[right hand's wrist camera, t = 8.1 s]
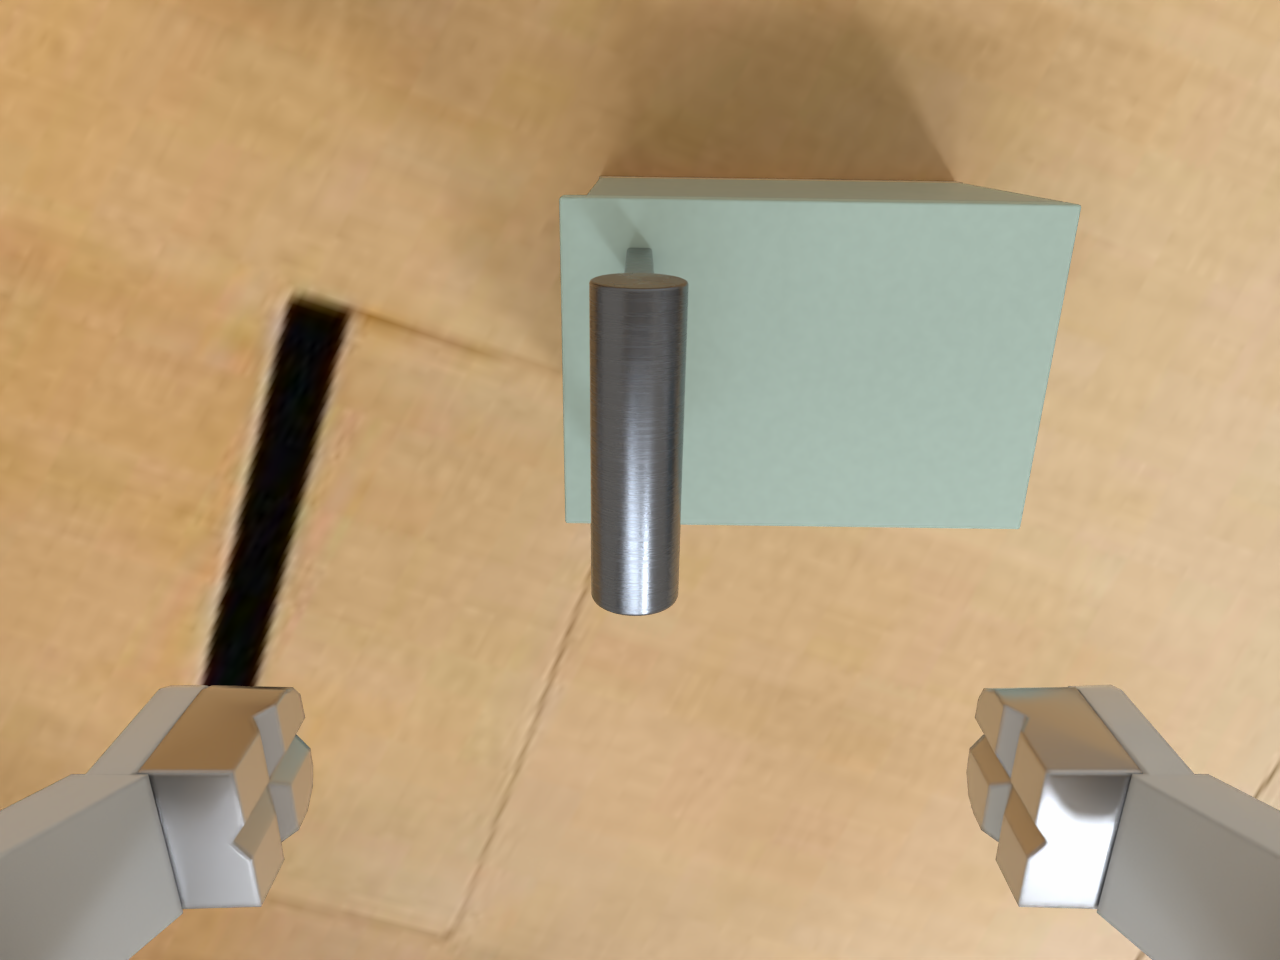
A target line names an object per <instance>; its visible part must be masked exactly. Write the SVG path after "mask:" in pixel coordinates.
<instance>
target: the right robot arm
mask: <svg viewBox="0 0 1280 960" xmlns="http://www.w3.org/2000/svg"><path fill="white" fill-rule="evenodd" d="M304 719H305V714H304V710H303V705H302V700H301V695H300V693H298V692H297V691H296V690H295V689H294V688H293V687H253V686H210V687H209V686H206V685H187V686H167V687H164V688H161V689H159V690H158V691H157V692H156V693H155V694H154V696H153V697H152V698H151V699H150V700H149V701H148V703H147V704H146V705H145V706H144V707H143V708H142V709H141V711H140V712H139V713H138V714H137V715H136V716H135V718H134V719H133V720H132V721H131V722H130V723H129V724H128V726H127V727H126V728H125V729H124V730H123V731H122V733H121V734H120V735H119V736H118V737H117V738H116V740H115V741H114V742H113V743H112V744H111V745H110V746H109V748H108V749H107V750H106V751H105V752H104V753H103V755H102V756H101V757H100V758H99V759H98V760H97V761H96V763H95V764H94V765H93V766H92V767H91V768H90V770H89V771H88V772H87V773H86V774H71V775H69V776H67V777H65V778H63V779H61V780H60V781H58V782H56V783H54V784H52V785H50V786H48V787H46V788H44V789H42V790H40V791H38V792H36V793H34V794H32V795H30V796H28V797H26V798H24V799H22V800H20V801H18V802H16V803H14V804H12V805H10V806H8V807H7V808H5V809H3V810H1V811H0V960H128V959H129V958H131V957H132V956H133V955H134V954H135V953H137V952H138V951H139V950H140V949H141V948H142V947H144V946H145V945H146V944H147V943H148V942H150V941H151V940H152V939H153V938H154V937H155V936H157V935H158V934H159V933H160V932H161V931H162V930H164V929H165V928H166V927H167V926H168V925H170V924H171V923H172V922H173V921H174V920H175V919H177V918H178V917H179V916H180V915H181V914H183V910H182V909H196V908H231V907H261V906H262V904H263V902H264V900H265V898H266V896H267V894H268V892H269V890H270V888H271V886H272V884H273V882H274V880H275V878H276V876H277V874H278V872H279V870H280V868H281V865H282V863H283V861H284V855H283V849H282V844H281V842H282V841H284V840H285V839H287V838H288V837H289V836H291V835H292V834H294V833H295V832H296V831H298V830H299V828H300V826H301V824H302V822H303V820H304V817H305V815H306V813H307V811H308V806H309V802H310V797H311V792H312V788H313V762H312V756H311V749H310V748H309V747H308V746H307V745H306V744H305V743H304V742H303V741H302V740H301V739H300V738H299V737H298V736H297V735H296V733H297V731H298V729H299V728H300V726H301V724H302V722H303V720H304ZM975 719H976V720H977V722H978V724H979V726H980V728H981V729H982V731H983V733H984V735H983V736H982V737H981V738H980V739H979V740H978V741H977V742H976V743H975V744H974V745H973V746H972V747H971V748H970V750H969V757H968V765H967V783H968V796H969V799H970V803H971V806H972V810H973V813H974V815H975V818H976V820H977V822H978V824H979V826H980V828H981V830H982V831H984V832H985V833H986V834H988V835H989V836H991V837H992V838H993V839H995V840H996V841H998V842H999V844H998V849H997V855H996V861H997V863H998V865H999V868H1000V870H1001V872H1002V874H1003V876H1004V878H1005V880H1006V882H1007V884H1008V886H1009V888H1010V890H1011V892H1012V894H1013V896H1014V898H1015V900H1016V902H1017V904H1018V906H1019V907H1048V908H1084V909H1097V913H1098V914H1099V915H1100V916H1101V917H1103V918H1104V919H1105V920H1106V921H1107V922H1108V923H1110V924H1111V925H1112V926H1113V927H1114V928H1116V929H1117V930H1118V931H1119V932H1120V933H1121V934H1123V935H1124V936H1125V937H1126V938H1127V939H1129V940H1130V941H1131V942H1132V943H1133V944H1134V945H1136V946H1137V947H1138V948H1139V949H1140V950H1141V951H1143V952H1144V953H1145V954H1146V955H1147V956H1149V957H1150V958H1151V959H1152V960H1280V811H1279V810H1277V809H1275V808H1273V807H1271V806H1269V805H1267V804H1265V803H1264V802H1262V801H1260V800H1258V799H1256V798H1254V797H1252V796H1250V795H1248V794H1246V793H1244V792H1242V791H1240V790H1238V789H1236V788H1234V787H1232V786H1230V785H1228V784H1226V783H1224V782H1222V781H1220V780H1218V779H1217V778H1215V777H1213V776H1211V775H1209V774H1194V773H1193V772H1192V771H1191V770H1190V768H1189V767H1188V766H1187V765H1186V764H1185V763H1184V762H1183V760H1182V759H1181V758H1180V757H1179V756H1178V755H1177V753H1176V752H1175V751H1174V750H1173V749H1172V748H1171V746H1170V745H1169V744H1168V743H1167V742H1166V741H1165V740H1164V738H1163V737H1162V736H1161V735H1160V734H1159V733H1158V731H1157V730H1156V729H1155V728H1154V727H1153V726H1152V725H1151V723H1150V722H1149V721H1148V720H1147V719H1146V718H1145V716H1144V715H1143V714H1142V713H1141V712H1140V711H1139V710H1138V708H1137V707H1136V706H1135V705H1134V704H1133V703H1132V701H1131V700H1130V699H1129V698H1128V697H1127V696H1126V694H1125V693H1124V692H1123V691H1122V690H1121V689H1119V688H1117V687H1114V686H1112V685H1092V686H1069V687H1049V688H984V689H983V691H982V693H981V695H980V697H979V699H978V703H977V709H976V714H975Z"/></svg>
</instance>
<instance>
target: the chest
mask: <svg viewBox="0 0 1280 960" xmlns="http://www.w3.org/2000/svg"><path fill="white" fill-rule="evenodd" d="M587 195H603V196H670V197H738V198H806V199H874V200H941V201H1009V202H1062V201H1056V200H1051V199H1045V198H1040V197H1034V196H1029V195H1023V194H1018V193H1012V192H1007V191H1001V190H996V189H990V188H985V187H980V186H974V185H969V184H963V183H961V182H956V181H892V180H824V179H757V178H689V177H622V176H600V177H599V180H598V182H597V183H596V184H595V185H594V187H593V188H592V189H591V191H590V192H589V193H588V194H587Z"/></svg>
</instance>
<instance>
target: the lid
mask: <svg viewBox="0 0 1280 960" xmlns="http://www.w3.org/2000/svg"><path fill="white" fill-rule="evenodd" d="M559 210H560V263H561V315H562V368H563V420H564V473H565V521H566V523H591V594H592V597H593V599H594V601H595V602H596V604H597V605H599V606H600V607H602V608H603V609H605V610H607V611H610V612H613V613H616V614H621V615H629V616H642V615H650V614H655V613H658V612H661V611H663V610H666V609H667V608H669V607H670V606H672V605H673V604H674V603H675V601H676V599H677V597H678V581H679V552H680V524H684V525H758V526H832V527H906V528H980V529H1019V528H1020V524H1021V519H1022V514H1023V508H1024V503H1025V498H1026V493H1027V488H1028V482H1029V477H1030V472H1031V467H1032V461H1033V456H1034V451H1035V446H1036V440H1037V435H1038V430H1039V425H1040V419H1041V414H1042V409H1043V404H1044V398H1045V393H1046V388H1047V383H1048V378H1049V372H1050V367H1051V362H1052V357H1053V351H1054V346H1055V341H1056V336H1057V330H1058V325H1059V320H1060V315H1061V309H1062V304H1063V299H1064V294H1065V288H1066V283H1067V278H1068V273H1069V268H1070V262H1071V257H1072V252H1073V247H1074V241H1075V236H1076V231H1077V226H1078V220H1079V215H1080V210H1081V206H1080V205H1078V204H1073V203H1067V202H1009V201H941V200H874V199H806V198H738V197H670V196H603V195H563V196H561V197H560V199H559Z"/></svg>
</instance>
